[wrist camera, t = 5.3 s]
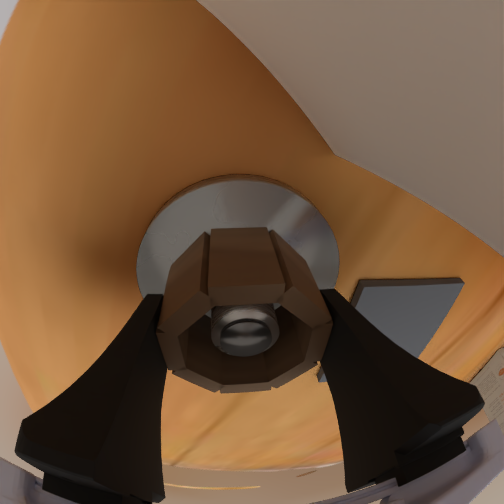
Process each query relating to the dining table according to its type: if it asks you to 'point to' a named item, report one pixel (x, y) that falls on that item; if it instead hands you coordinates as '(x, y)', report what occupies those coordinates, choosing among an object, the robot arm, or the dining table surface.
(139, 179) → the dining table surface
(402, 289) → the mat
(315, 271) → the hub
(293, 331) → the ring
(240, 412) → the dining table surface
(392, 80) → the milk
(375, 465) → the robot arm
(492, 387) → the small box
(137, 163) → the dining table surface
